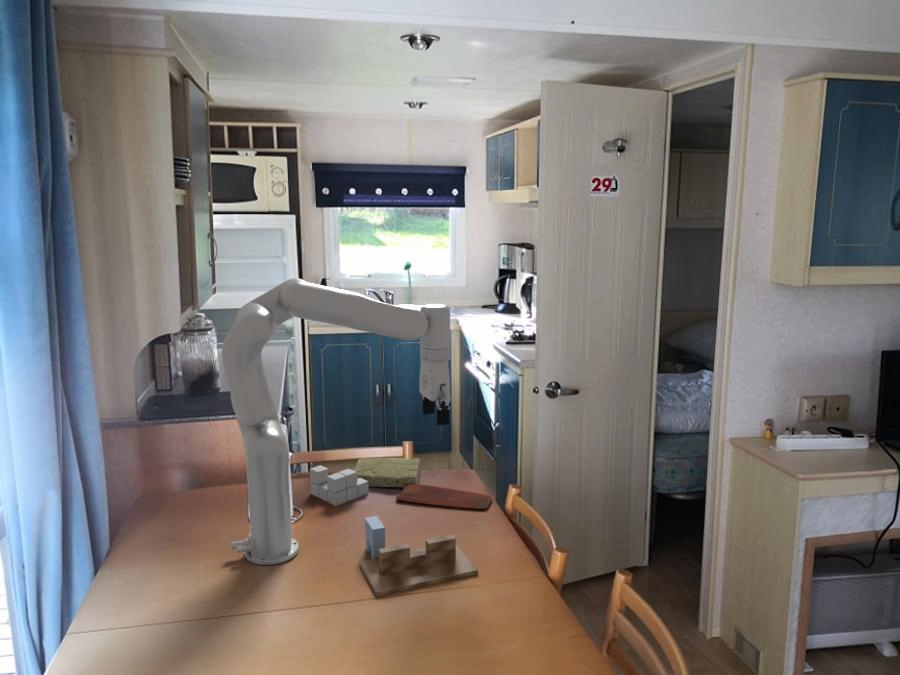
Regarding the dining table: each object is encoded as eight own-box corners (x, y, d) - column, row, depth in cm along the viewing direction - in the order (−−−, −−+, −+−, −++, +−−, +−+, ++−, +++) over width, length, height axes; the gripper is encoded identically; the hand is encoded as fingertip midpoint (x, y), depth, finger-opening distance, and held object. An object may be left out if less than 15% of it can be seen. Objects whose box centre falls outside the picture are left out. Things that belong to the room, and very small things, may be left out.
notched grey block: (385, 558, 162) (384, 527, 161) (373, 561, 161) (372, 529, 160) (377, 546, 168) (376, 515, 167) (365, 548, 167) (365, 517, 166)
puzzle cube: (368, 493, 199) (368, 467, 198) (335, 506, 191) (334, 479, 189) (343, 482, 208) (342, 457, 206) (310, 494, 199) (309, 468, 198)
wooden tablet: (394, 502, 193) (393, 496, 193) (405, 486, 202) (405, 481, 202) (486, 513, 186) (485, 507, 186) (493, 496, 195) (493, 491, 195)
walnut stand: (376, 596, 146) (375, 568, 145) (359, 565, 159) (358, 539, 158) (478, 573, 155) (478, 547, 154) (454, 546, 168) (454, 521, 167)
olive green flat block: (356, 455, 219) (418, 448, 218) (359, 472, 220) (421, 465, 220) (348, 478, 201) (415, 470, 200) (351, 496, 202) (418, 489, 201)
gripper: (409, 348, 177) (410, 411, 181) (434, 362, 162) (434, 431, 165) (436, 346, 180) (436, 408, 183) (462, 359, 164) (462, 427, 168)
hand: (435, 419), depth 174 cm, fingers open, 9 cm apart
